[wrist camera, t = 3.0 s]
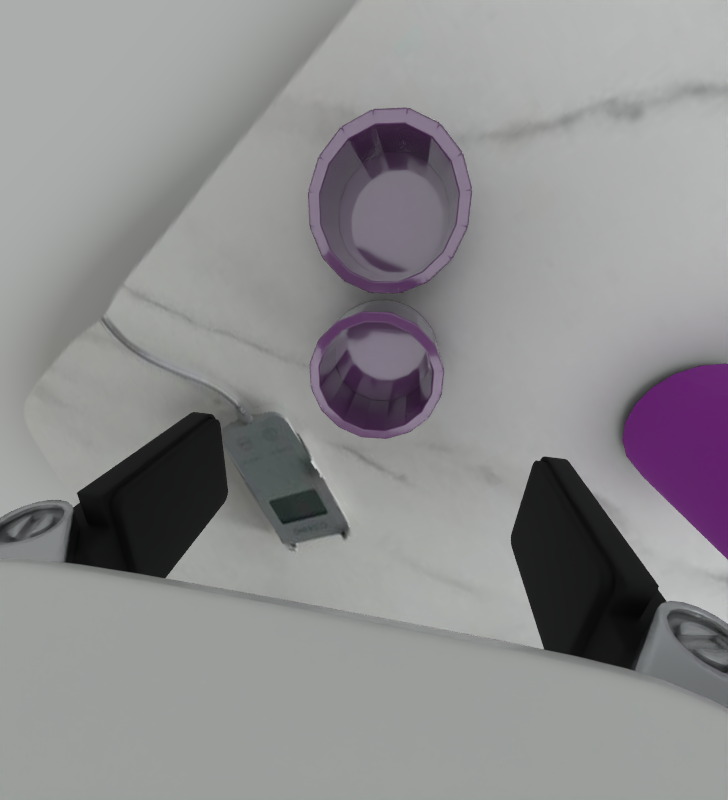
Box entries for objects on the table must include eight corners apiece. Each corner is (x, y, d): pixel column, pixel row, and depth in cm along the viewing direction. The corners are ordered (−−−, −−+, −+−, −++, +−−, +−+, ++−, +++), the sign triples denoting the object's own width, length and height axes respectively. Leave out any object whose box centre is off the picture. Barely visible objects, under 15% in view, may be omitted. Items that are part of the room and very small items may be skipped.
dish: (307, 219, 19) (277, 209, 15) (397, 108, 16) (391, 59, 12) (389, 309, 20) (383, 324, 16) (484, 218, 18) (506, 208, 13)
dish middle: (308, 352, 22) (284, 375, 18) (384, 274, 19) (377, 280, 15) (380, 423, 23) (373, 460, 19) (460, 358, 21) (471, 385, 16)
